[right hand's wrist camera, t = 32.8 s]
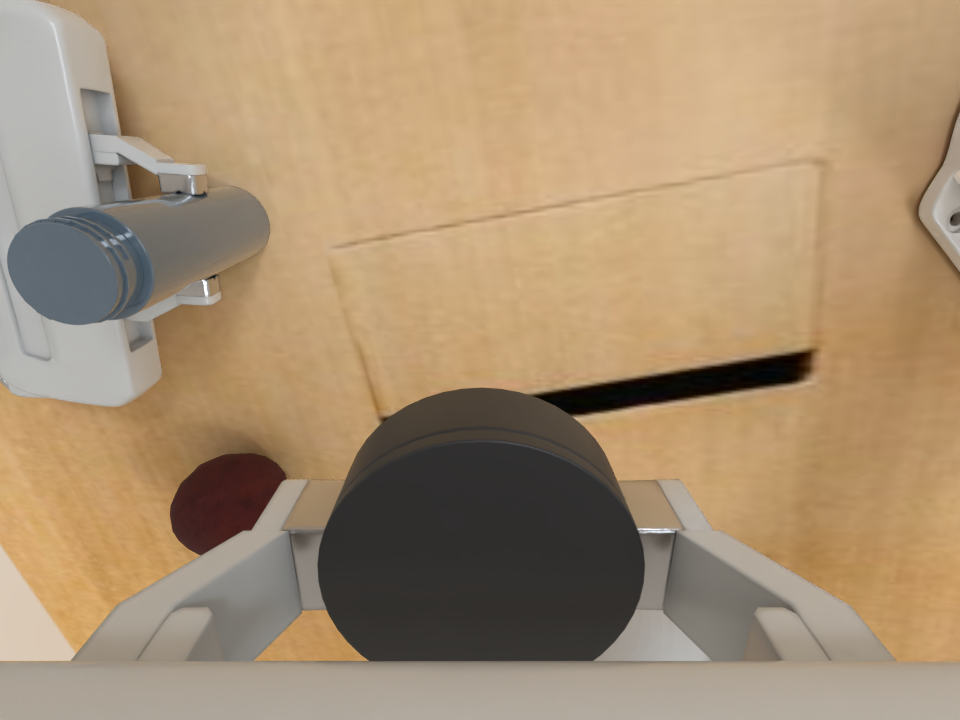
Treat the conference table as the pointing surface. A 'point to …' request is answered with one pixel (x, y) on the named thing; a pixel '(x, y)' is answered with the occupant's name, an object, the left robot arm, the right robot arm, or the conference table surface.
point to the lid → (481, 536)
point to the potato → (223, 499)
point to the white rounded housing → (652, 641)
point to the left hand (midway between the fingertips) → (210, 235)
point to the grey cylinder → (132, 252)
